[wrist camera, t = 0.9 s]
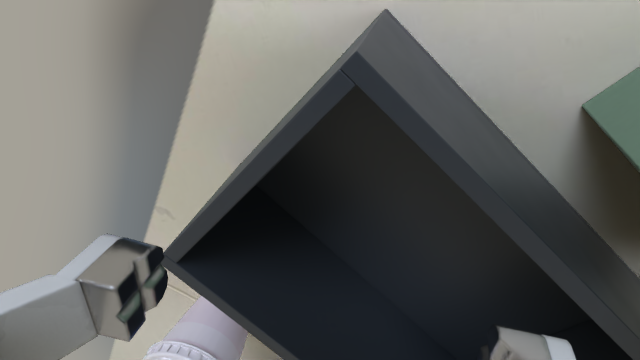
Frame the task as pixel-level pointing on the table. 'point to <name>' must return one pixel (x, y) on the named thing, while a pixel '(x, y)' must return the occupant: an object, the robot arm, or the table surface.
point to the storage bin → (401, 227)
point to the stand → (620, 115)
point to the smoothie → (201, 336)
